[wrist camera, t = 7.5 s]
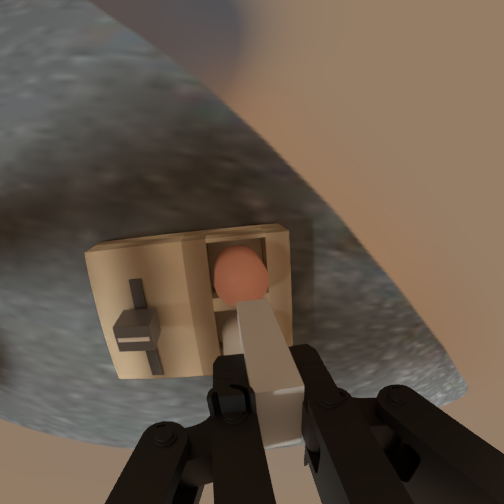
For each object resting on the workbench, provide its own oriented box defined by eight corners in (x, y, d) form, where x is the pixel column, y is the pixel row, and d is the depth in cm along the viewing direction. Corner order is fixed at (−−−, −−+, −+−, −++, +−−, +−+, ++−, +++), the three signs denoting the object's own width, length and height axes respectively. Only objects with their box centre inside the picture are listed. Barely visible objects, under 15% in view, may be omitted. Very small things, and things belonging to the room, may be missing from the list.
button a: (216, 292, 23) (217, 309, 20) (211, 247, 22) (211, 258, 19) (263, 287, 23) (270, 303, 20) (260, 242, 22) (267, 252, 19)
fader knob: (128, 332, 22) (119, 352, 19) (123, 310, 22) (111, 328, 19) (161, 330, 22) (155, 351, 19) (156, 307, 22) (148, 326, 19)
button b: (224, 351, 24) (226, 374, 21) (219, 314, 23) (220, 334, 20) (266, 346, 25) (273, 368, 22) (264, 309, 24) (271, 328, 21)
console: (128, 356, 27) (118, 380, 23) (101, 242, 24) (83, 253, 20) (283, 342, 29) (293, 365, 25) (278, 223, 26) (289, 231, 22)
